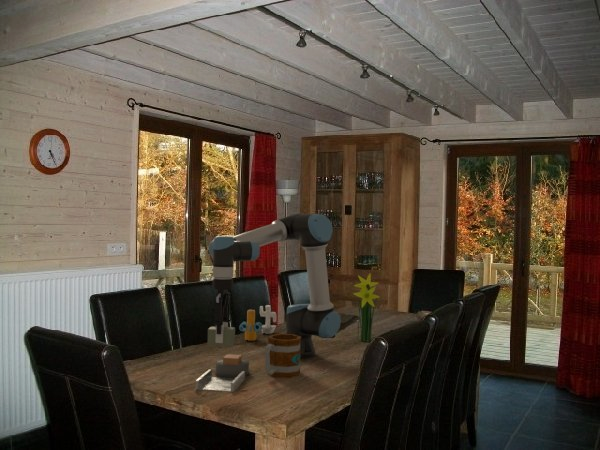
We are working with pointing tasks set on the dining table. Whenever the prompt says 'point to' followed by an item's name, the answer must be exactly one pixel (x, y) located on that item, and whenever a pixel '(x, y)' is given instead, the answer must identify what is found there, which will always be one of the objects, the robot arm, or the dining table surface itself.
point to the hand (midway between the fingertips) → (221, 341)
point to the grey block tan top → (231, 366)
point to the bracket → (218, 382)
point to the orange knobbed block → (250, 326)
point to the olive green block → (227, 337)
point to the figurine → (267, 319)
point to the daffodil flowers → (366, 306)
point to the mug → (283, 355)
